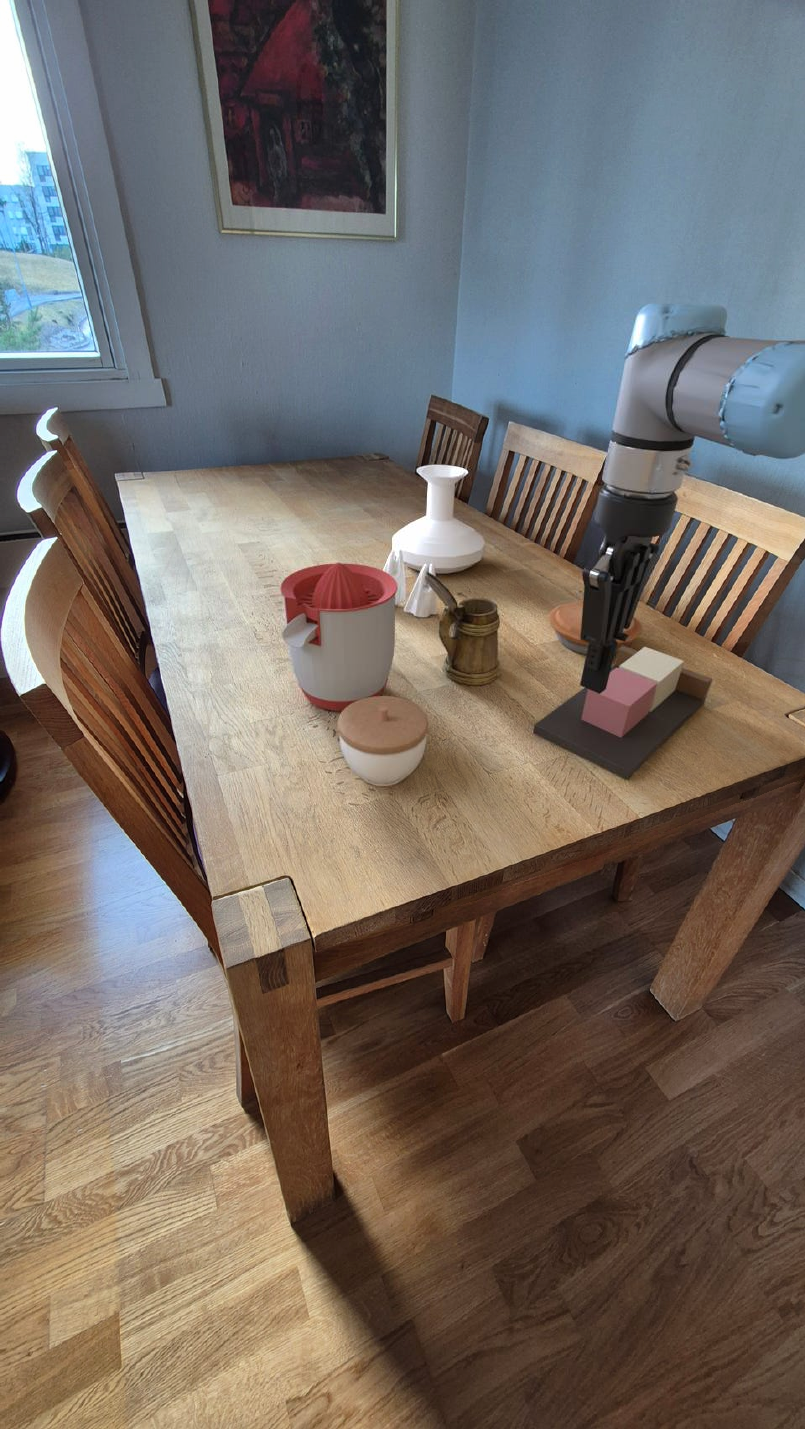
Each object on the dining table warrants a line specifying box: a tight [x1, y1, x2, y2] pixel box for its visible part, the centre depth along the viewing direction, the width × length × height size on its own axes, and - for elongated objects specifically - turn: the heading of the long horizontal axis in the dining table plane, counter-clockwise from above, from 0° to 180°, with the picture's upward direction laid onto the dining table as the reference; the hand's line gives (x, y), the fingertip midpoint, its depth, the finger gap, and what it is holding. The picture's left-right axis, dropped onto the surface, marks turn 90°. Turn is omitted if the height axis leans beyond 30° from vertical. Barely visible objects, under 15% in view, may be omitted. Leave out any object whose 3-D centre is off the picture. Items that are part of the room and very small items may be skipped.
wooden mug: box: [425, 572, 501, 687], centre depth 93 cm, size 9×14×18 cm, turn 118°
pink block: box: [581, 668, 657, 738], centre depth 85 cm, size 6×8×5 cm
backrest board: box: [532, 646, 713, 781], centre depth 88 cm, size 14×24×4 cm, turn 137°
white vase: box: [392, 464, 486, 574], centre depth 131 cm, size 20×20×19 cm
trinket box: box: [337, 695, 429, 787], centre depth 76 cm, size 11×11×9 cm
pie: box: [548, 601, 643, 656], centre depth 107 cm, size 15×16×5 cm
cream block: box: [619, 646, 685, 712], centre depth 90 cm, size 6×8×5 cm
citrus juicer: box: [279, 562, 398, 712], centre depth 87 cm, size 16×17×20 cm
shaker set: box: [382, 549, 438, 618], centre depth 114 cm, size 12×4×11 cm, turn 60°
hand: (592, 687), depth 76 cm, fingers closed
